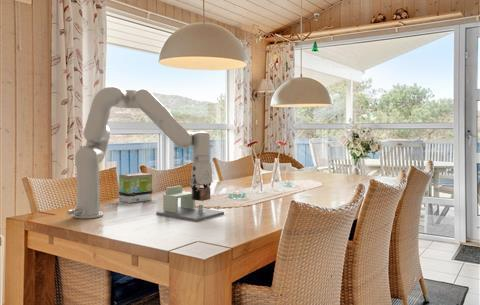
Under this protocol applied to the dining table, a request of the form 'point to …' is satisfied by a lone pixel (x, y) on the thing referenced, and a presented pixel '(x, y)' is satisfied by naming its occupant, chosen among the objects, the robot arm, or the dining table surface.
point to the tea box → (135, 187)
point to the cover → (172, 199)
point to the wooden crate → (203, 194)
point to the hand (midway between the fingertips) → (201, 198)
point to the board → (192, 213)
